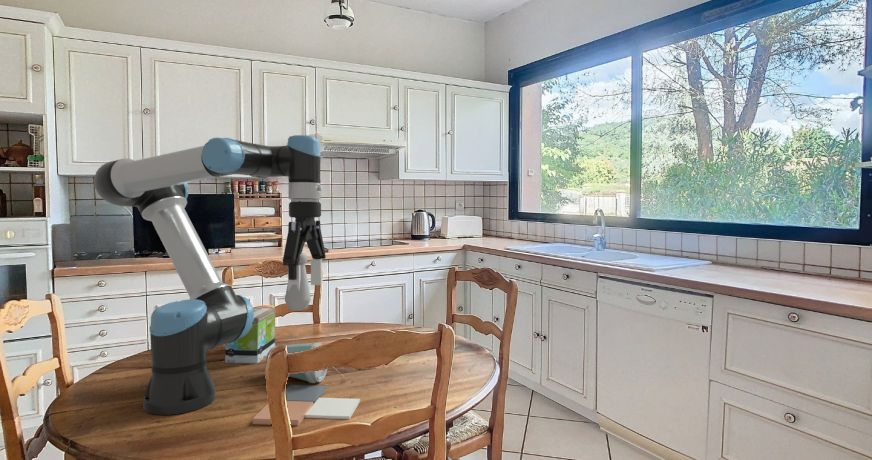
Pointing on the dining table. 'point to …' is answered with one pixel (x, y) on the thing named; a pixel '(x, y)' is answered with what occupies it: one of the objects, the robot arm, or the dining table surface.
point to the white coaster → (333, 408)
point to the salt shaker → (302, 297)
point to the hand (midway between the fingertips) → (306, 289)
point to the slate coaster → (305, 393)
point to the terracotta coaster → (295, 411)
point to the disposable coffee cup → (307, 376)
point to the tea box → (254, 339)
